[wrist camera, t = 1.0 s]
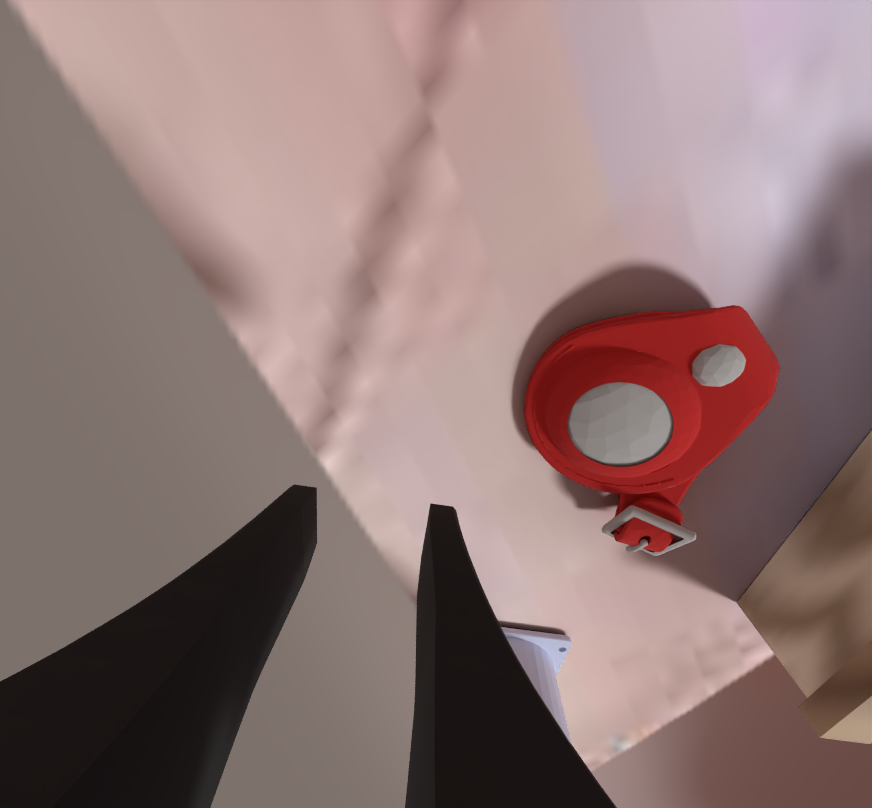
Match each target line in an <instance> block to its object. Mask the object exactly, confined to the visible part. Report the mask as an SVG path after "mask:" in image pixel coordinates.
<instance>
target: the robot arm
mask: <svg viewBox="0 0 872 808" xmlns="http://www.w3.org/2000/svg"><path fill="white" fill-rule="evenodd" d="M316 544H317V491H316V488H314V487H307V486H300V485H293V486H291V487H290V488H289V489H288V490H286V491H285V492H284V493H283V494H282V495H281V496H279V497H278V498H277V499H276V500H275V501H274V502H273V503H271V504H270V505H269V506H268V507H267V508H265V509H264V510H263V511H262V512H261V513H260V514H258V515H257V516H256V517H255V518H254V519H253V520H251V521H250V522H249V523H248V524H246V525H245V526H244V527H243V528H242V529H240V530H239V531H238V532H236V533H235V534H234V535H233V536H232V537H231V538H229V539H228V540H227V541H226V542H224V543H223V544H221V545H220V546H219V547H218V548H216V549H215V550H213V551H212V552H211V553H209V554H208V555H207V556H205V557H204V558H203V559H201V560H200V561H199V562H197V563H196V564H195V565H194V566H192V567H191V568H189V569H188V570H186V571H185V572H184V573H182V574H181V575H180V576H178V577H177V578H175V579H174V580H172V581H171V582H169V583H168V584H167V585H165V586H163V587H162V588H160V589H159V590H158V591H156V592H154V593H153V594H151V595H150V596H148V597H147V598H145V599H144V600H142V601H141V602H139V603H138V604H136V605H134V606H133V607H131V608H130V609H128V610H126V611H125V612H123V613H121V614H120V615H118V616H116V617H115V618H113V619H112V620H110V621H108V622H107V623H105V624H103V625H102V626H100V627H98V628H96V629H95V630H93V631H91V632H90V633H88V634H86V635H84V636H83V637H81V638H79V639H78V640H76V641H74V642H73V643H71V644H69V645H67V646H66V647H64V648H62V649H60V650H59V651H57V652H55V653H53V654H51V655H49V656H47V657H46V658H44V659H42V660H40V661H38V662H36V663H34V664H33V665H31V666H29V667H27V668H25V669H23V670H21V671H20V672H18V673H16V674H14V675H12V676H10V677H8V678H7V679H4V680H2V681H1V682H0V808H210V807H211V803H212V801H213V798H214V795H215V793H216V790H217V787H218V784H219V782H220V779H221V776H222V773H223V771H224V768H225V765H226V762H227V760H228V757H229V754H230V751H231V748H232V746H233V743H234V740H235V738H236V735H237V732H238V730H239V727H240V724H241V722H242V719H243V716H244V714H245V711H246V708H247V706H248V703H249V700H250V698H251V695H252V693H253V690H254V688H255V685H256V683H257V680H258V678H259V676H260V674H261V671H262V669H263V667H264V665H265V663H266V661H267V658H268V656H269V654H270V652H271V650H272V648H273V646H274V643H275V641H276V639H277V637H278V635H279V633H280V631H281V629H282V627H283V624H284V622H285V620H286V618H287V615H288V614H289V612H290V610H291V607H292V605H293V603H294V601H295V599H296V597H297V595H298V592H299V590H300V588H301V586H302V584H303V581H304V579H305V576H306V573H307V571H308V568H309V565H310V562H311V559H312V556H313V553H314V550H315V547H316ZM416 630H417V631H416V681H415V682H416V684H415V705H414V720H413V730H412V741H411V752H410V762H409V774H408V783H407V794H406V804H405V808H617V807H616V806H615V805H614V803H613V802H612V801H611V799H610V798H609V797H608V795H607V794H606V793H605V791H604V790H603V789H602V787H601V786H600V785H599V783H598V782H597V780H596V779H595V777H594V776H593V775H592V773H591V772H590V770H589V769H588V767H587V766H586V765H585V763H584V762H583V760H582V759H581V757H580V756H579V755H578V753H577V752H576V750H575V749H574V747H573V746H572V744H571V740H570V735H569V731H568V726H567V722H566V717H565V713H564V709H563V704H562V700H561V695H560V691H559V686H558V682H557V678H556V675H557V673H558V671H559V669H560V667H561V665H562V664H563V662H564V660H565V658H566V656H567V654H568V652H569V650H570V648H571V646H572V642H571V639H570V637H568V636H566V635H559V634H552V633H544V632H536V631H529V630H521V629H514V628H506V627H500V625H499V623H498V621H497V619H496V617H495V614H494V612H493V610H492V608H491V606H490V604H489V602H488V599H487V597H486V595H485V593H484V591H483V588H482V586H481V584H480V581H479V579H478V576H477V574H476V571H475V569H474V566H473V564H472V561H471V559H470V556H469V553H468V551H467V548H466V545H465V542H464V539H463V536H462V532H461V529H460V525H459V521H458V517H457V513H456V510H455V509H454V507H451V506H444V505H437V504H430V510H429V516H428V521H427V527H426V533H425V539H424V545H423V550H422V556H421V565H420V574H419V583H418V592H417V628H416Z"/></svg>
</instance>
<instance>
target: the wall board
mask: <svg viewBox="0 0 872 808" xmlns="http://www.w3.org/2000/svg"><path fill="white" fill-rule="evenodd" d="M737 604H738V605H739V607H740V608H741V609H742V611H743V612H744V613H745V615H746V616H747V617H748V619H749V620H750V621H751V623H752V624H753V625H754V627H755V628H756V629H757V631H758V632H759V633H760V635H761V636H762V638H763V639H764V640H765V642H766V643H767V644H768V646H769V647H770V648H771V650H772V651H773V652H774V654H775V655H776V656H777V658H778V659H779V660H780V662H781V663H782V664H783V666H784V667H785V668H786V670H787V671H788V672H789V674H790V675H791V676H792V678H793V679H794V681H795V682H796V683H797V684H798V686H799V687H800V688H801V690H802V691H803V693H804V694H805V695H806V696H807V699H806V700H805V701H804V702H803V703H801V704H800V705H799V706H798V707H799V709H800V710H801V712H802V713H803V714H804V716H805V717H806V719H807V720H808V722H809V723H810V725H811V726H812V727H813V729H814V730H815V732H816V733H817V734H818V736H819V737H820V738H827V739H836V740H843V741H851V742H859V743H867V744H870V743H872V430H871V432H870V433H869V434H868V435H867V437H866V438H865V439H864V441H863V442H862V443H861V444H860V446H859V447H858V448H857V450H856V451H855V452H854V453H853V455H852V456H851V457H850V459H849V460H848V461H847V462H846V464H845V465H844V466H843V467H842V469H841V470H840V471H839V473H838V474H837V475H836V476H835V478H834V479H833V480H832V482H831V483H830V484H829V485H828V487H827V488H826V489H825V491H824V492H823V493H822V494H821V496H820V497H819V498H818V499H817V501H816V502H815V503H814V505H813V506H812V507H811V508H810V510H809V511H808V512H807V514H806V515H805V516H804V517H803V519H802V520H801V521H800V523H799V524H798V525H797V526H796V528H795V529H794V530H793V532H792V533H791V534H790V535H789V537H788V538H787V539H786V540H785V542H784V543H783V544H782V546H781V547H780V548H779V549H778V551H777V552H776V553H775V555H774V556H773V557H772V558H771V560H770V561H769V562H768V564H767V565H766V566H765V567H764V569H763V570H762V571H761V573H760V574H759V575H758V576H757V578H756V579H755V580H754V581H753V583H752V584H751V585H750V587H749V588H748V589H747V590H746V592H745V593H744V594H743V596H742V597H741V598H740V599H739V601H738V602H737Z"/></svg>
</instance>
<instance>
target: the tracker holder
mask: <svg viewBox="0 0 872 808" xmlns="http://www.w3.org/2000/svg"><path fill="white" fill-rule="evenodd" d="M778 373H779V364H778V359H777V358H776V356H775V354H774V353H773V351H772V350H771V348H770V347H769V345H768V344H767V342H766V341H765V339H764V337H763V336H762V334H761V333H760V331H759V330H758V328H757V327H756V325H755V324H754V322H753V321H752V319H751V318H750V316H749V314H748V313H747V312H746V311H745V310H744V309H743V308H742V307H740V306H734V305H732V306H727V307H721V308H712V309H701V310H691V311H652V312H644V313H636V314H630V315H625V316H620V317H615V318H609V319H604V320H601V321H597V322H593V323H590V324H586V325H584V326H581V327H579V328H576V329H574V330H571V331H570V332H568V333H566V334H564V335H563V336H561V337H560V338H559V339H558V340H557V341H556V342H554V343H553V344H552V345H551V346H550V347H549V348H548V349H547V350H546V352H545V353H544V354H543V355H542V357H541V358H540V360H539V361H538V363H537V364H536V366H535V368H534V370H533V373H532V375H531V377H530V380H529V384H528V387H527V392H526V395H525V406H524V412H525V421H526V426H527V429H528V432H529V435H530V437H531V440H532V442H533V443H534V445H535V447H536V448H537V450H538V451H539V453H540V454H541V455H542V456H543V457H544V459H545V460H546V461H547V462H548V463H549V464H550V465H551V466H552V467H553V468H555V469H556V470H557V471H558V472H560V473H562V474H563V475H565V476H566V477H568V478H569V479H571V480H573V481H575V482H577V483H579V484H582V485H585V486H588V487H590V488H593V489H596V490H600V491H604V492H609V493H619V494H620V501H619V503H618V506H617V510H616V514H615V517H614V518H613V519H612V520H610V521H609V522H608V523H606V524H605V525H604V526H603V527H602V532H603V533H605V534H608V535H610V536H612V537H614V538H615V540H616V541H618V542H621V543H625V544H628V545H629V546H627V547H626V550H627V551H628V552H636V551H638V550H642V551H644V552H647V553H649V554H651V555H653V556H658V555H661V554H663V553H666V552H668V551H670V550H673V549H675V548H678V547H680V546H683V545H685V544H687V543H690V542H692V541H695V540H696V533H695V532H694V531H692V530H689V529H687V528H685V527H682V526H680V525H681V524H682V522H683V515H682V513H681V511H680V510H679V508H678V505H679V503H680V501H681V500H682V498H683V496H684V495H685V493H686V491H687V490H688V488H689V486H690V485H691V483H692V482H693V481H694V479H695V478H696V477H697V476H698V474H699V473H700V472H701V470H703V469H704V468H705V467H706V466H707V465H709V464H710V463H711V462H712V461H713V460H715V459H716V458H717V457H718V456H719V455H720V454H721V453H722V452H723V451H724V450H725V449H726V448H727V447H728V446H729V445H730V444H731V443H732V442H733V441H734V440H735V439H736V438H737V437H738V436H739V435H740V434H741V433H742V432H743V431H744V429H745V428H746V427H747V426H748V425H749V424H750V423H751V422H752V421H753V420H754V419H755V418H756V417H757V416H758V414H759V413H760V412H761V411H762V410H763V408H764V407H765V406H766V405H767V404H768V402H769V401H770V399H771V397H772V396H773V394H774V392H775V387H776V382H777V378H778ZM675 535H676V536H675Z"/></svg>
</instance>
